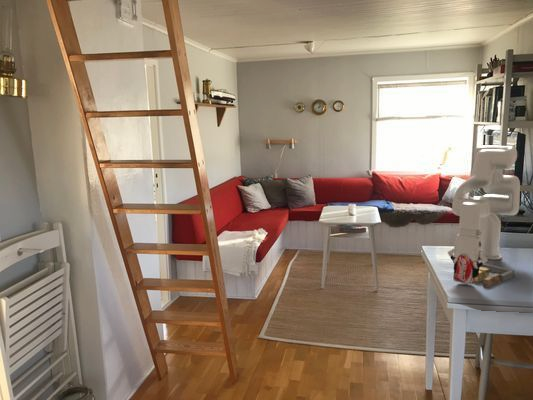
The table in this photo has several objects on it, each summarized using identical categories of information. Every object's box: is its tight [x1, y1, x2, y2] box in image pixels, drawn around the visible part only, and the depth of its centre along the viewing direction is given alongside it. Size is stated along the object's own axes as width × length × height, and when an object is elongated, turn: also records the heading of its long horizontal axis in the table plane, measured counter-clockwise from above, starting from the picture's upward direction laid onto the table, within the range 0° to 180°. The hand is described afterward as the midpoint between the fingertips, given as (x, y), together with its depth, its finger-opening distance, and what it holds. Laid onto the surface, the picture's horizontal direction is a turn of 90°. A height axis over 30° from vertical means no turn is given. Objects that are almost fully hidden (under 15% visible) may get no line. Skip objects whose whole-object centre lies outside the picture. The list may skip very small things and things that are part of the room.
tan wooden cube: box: [473, 271, 483, 283], centre depth 188 cm, size 4×4×4 cm
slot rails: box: [453, 272, 501, 288], centre depth 189 cm, size 12×14×3 cm
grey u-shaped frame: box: [479, 261, 516, 282], centre depth 196 cm, size 12×17×2 cm
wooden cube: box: [479, 267, 490, 280], centre depth 192 cm, size 4×4×4 cm
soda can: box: [455, 254, 475, 285], centre depth 182 cm, size 7×7×12 cm
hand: (465, 274), depth 182 cm, fingers closed on soda can, 7 cm apart
